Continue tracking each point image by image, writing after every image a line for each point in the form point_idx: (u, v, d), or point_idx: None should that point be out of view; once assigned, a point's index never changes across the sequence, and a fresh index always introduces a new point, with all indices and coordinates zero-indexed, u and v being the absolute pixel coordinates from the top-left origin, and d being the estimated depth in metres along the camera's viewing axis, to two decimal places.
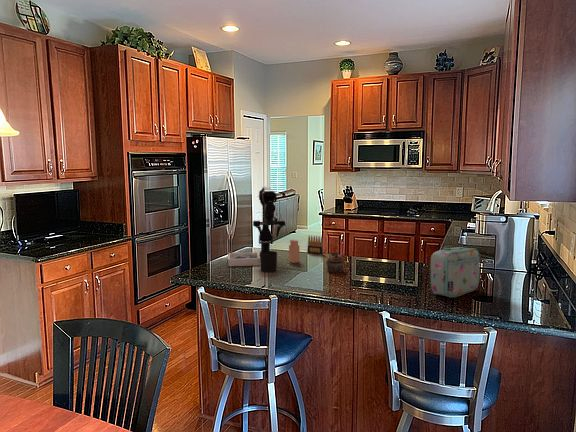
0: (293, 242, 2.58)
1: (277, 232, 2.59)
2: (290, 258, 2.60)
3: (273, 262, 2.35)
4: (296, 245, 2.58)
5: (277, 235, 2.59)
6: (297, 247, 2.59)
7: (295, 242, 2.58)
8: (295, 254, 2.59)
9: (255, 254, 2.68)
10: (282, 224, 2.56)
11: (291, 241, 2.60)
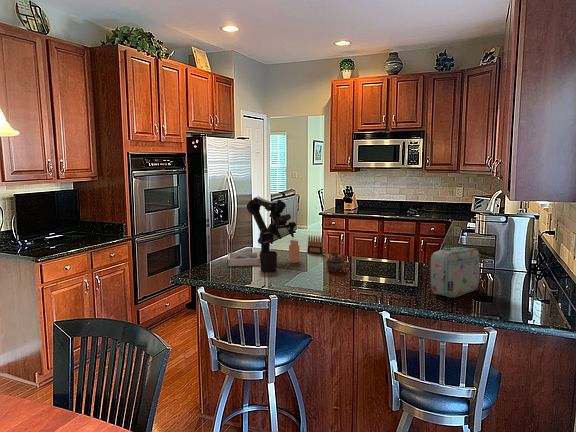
0: (293, 242, 2.58)
1: (292, 232, 2.69)
2: (290, 258, 2.60)
3: (273, 262, 2.35)
4: (296, 245, 2.58)
5: (293, 234, 2.69)
6: (297, 247, 2.59)
7: (295, 242, 2.58)
8: (295, 254, 2.59)
9: (255, 254, 2.68)
10: (294, 223, 2.72)
11: (291, 241, 2.60)
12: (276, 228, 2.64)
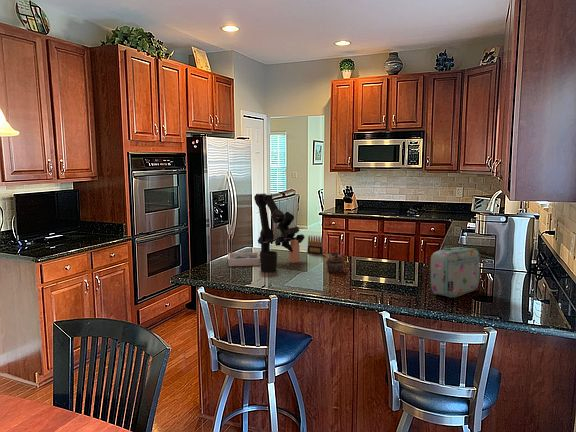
0: (293, 242, 2.58)
1: None
2: (290, 258, 2.60)
3: (273, 262, 2.35)
4: (296, 245, 2.58)
5: None
6: (297, 247, 2.59)
7: (295, 242, 2.58)
8: (295, 254, 2.59)
9: (255, 254, 2.68)
10: (302, 236, 2.66)
11: (291, 241, 2.60)
12: (287, 241, 2.59)
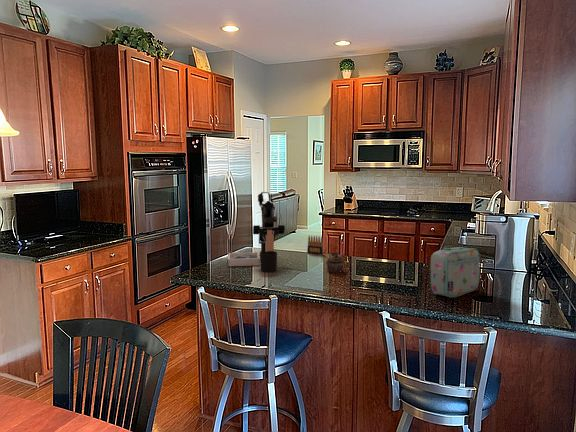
0: (267, 232, 2.53)
1: (274, 235, 2.55)
2: None
3: (273, 262, 2.35)
4: (270, 235, 2.52)
5: (274, 238, 2.54)
6: (271, 237, 2.52)
7: (268, 232, 2.52)
8: (269, 244, 2.53)
9: (255, 254, 2.68)
10: (282, 226, 2.57)
11: (267, 231, 2.55)
12: (262, 230, 2.55)
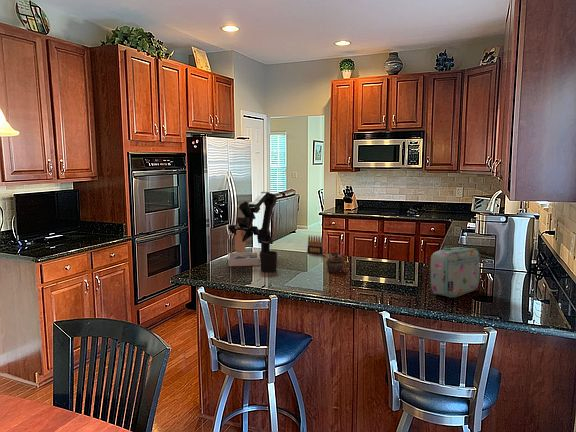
0: None
1: (244, 236, 2.55)
2: None
3: (273, 262, 2.35)
4: (238, 235, 2.54)
5: (243, 239, 2.55)
6: (239, 237, 2.54)
7: (237, 232, 2.54)
8: (237, 244, 2.55)
9: (255, 254, 2.68)
10: (253, 227, 2.55)
11: None
12: (235, 230, 2.59)
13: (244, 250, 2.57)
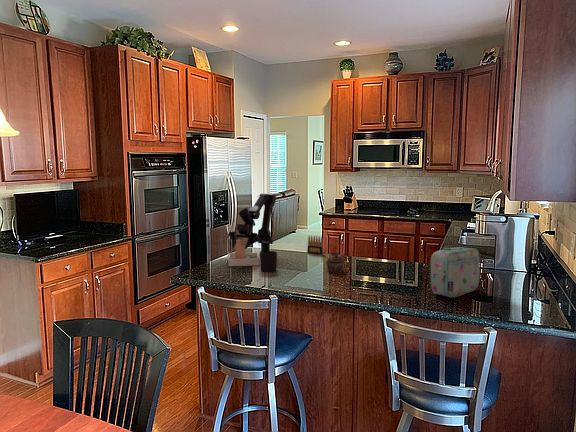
0: None
1: (247, 243, 2.55)
2: None
3: (273, 262, 2.35)
4: (238, 244, 2.55)
5: (246, 246, 2.54)
6: (239, 247, 2.55)
7: (237, 241, 2.55)
8: (237, 253, 2.56)
9: (255, 254, 2.68)
10: (253, 234, 2.55)
11: None
12: (232, 236, 2.60)
13: None
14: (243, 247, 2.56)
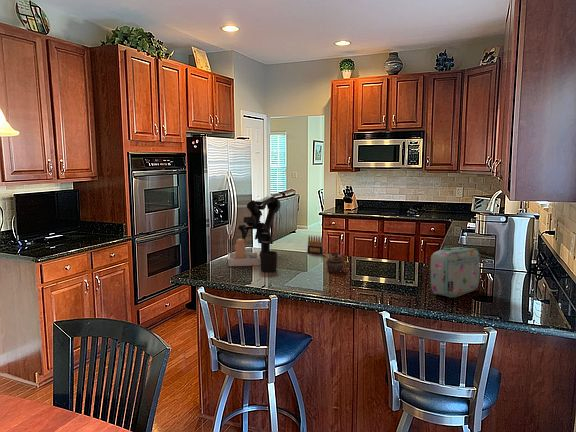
0: None
1: (256, 233, 2.62)
2: None
3: (273, 262, 2.35)
4: (238, 244, 2.55)
5: (255, 236, 2.61)
6: (239, 247, 2.55)
7: (237, 241, 2.55)
8: (237, 253, 2.56)
9: (255, 254, 2.68)
10: (260, 224, 2.62)
11: None
12: (241, 230, 2.68)
13: None
14: (243, 247, 2.56)
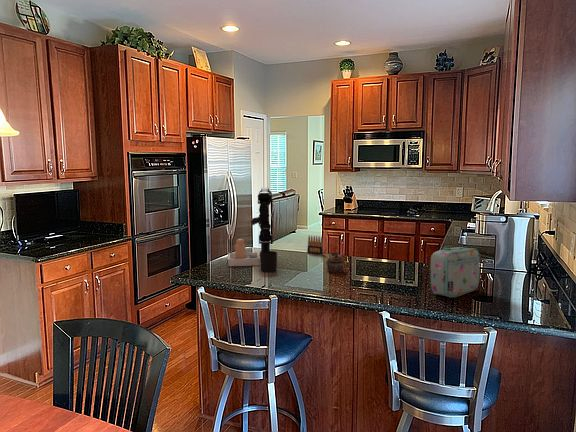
0: None
1: (263, 234, 2.62)
2: None
3: (273, 262, 2.35)
4: (238, 244, 2.55)
5: (263, 237, 2.62)
6: (239, 247, 2.55)
7: (237, 241, 2.55)
8: (237, 253, 2.56)
9: (255, 254, 2.68)
10: (260, 226, 2.59)
11: None
12: (260, 226, 2.72)
13: None
14: (243, 247, 2.56)
